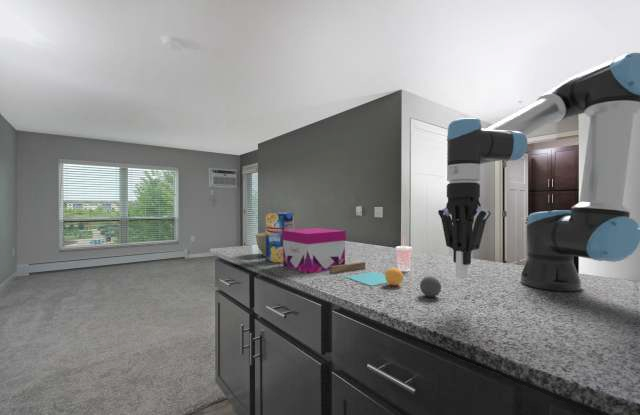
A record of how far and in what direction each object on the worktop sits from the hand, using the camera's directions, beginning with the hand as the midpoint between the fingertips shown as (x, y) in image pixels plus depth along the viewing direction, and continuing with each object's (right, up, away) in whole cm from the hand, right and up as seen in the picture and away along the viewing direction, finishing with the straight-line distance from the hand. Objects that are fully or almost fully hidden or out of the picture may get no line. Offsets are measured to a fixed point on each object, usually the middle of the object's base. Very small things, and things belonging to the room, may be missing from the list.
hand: (461, 276), depth 76 cm
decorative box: (-38, -8, +51) cm, 64 cm away
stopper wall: (-25, -7, +42) cm, 49 cm away
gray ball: (-5, -5, +9) cm, 11 cm away
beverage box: (-54, -7, +63) cm, 83 cm away
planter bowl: (-60, -7, +79) cm, 100 cm away
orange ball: (-12, -5, +21) cm, 24 cm away
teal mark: (-17, -7, +29) cm, 35 cm away
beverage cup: (-3, -7, +43) cm, 43 cm away
